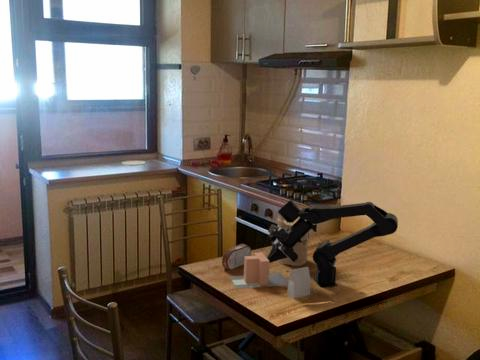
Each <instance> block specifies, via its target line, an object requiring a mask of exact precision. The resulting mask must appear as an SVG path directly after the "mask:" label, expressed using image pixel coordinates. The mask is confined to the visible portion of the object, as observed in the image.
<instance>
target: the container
mask: <svg viewBox="0 0 480 360" xmlns="http://www.w3.org/2000/svg"><path fill="white" fill-rule="evenodd" d="M299 219H300V217H298V218H297V219H296V220H295V221H294V222H293V223H289V222H288V223H287V222H286V221H285V220H284V219H283V218H282V217H281V216H280V215H279V216H278V217H277V219H276V220H277V226H278V227H281V228H284V229H285V228H287V227H288V228H290V227H292V225H293V224H294V223H295V222H296V221H298V220H299ZM309 234H310V231H309V232H308V233H307V234H306V235H305V236H304V237H303V238H302V239H301V241H302V242H301V243H299V242H298V243H297V244H296V245H295V246H294V247H293V249H294V250H293V251H294V252H295V253H296V254H297V255H298V259H297V260H296V261H295V262H293V261H292V260H291V259H290V258H289V257H288V256H287V257H288V258H284V259H280V260H277V261H276V262H277V263H278V264H281V265H287V266H289V265H290V266H291V267H298V266H299V267H303V265H305V264H306V263H307V262H308V247H309Z"/></svg>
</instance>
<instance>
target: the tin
mask: <svg viewBox="0 0 480 360" xmlns="http://www.w3.org/2000/svg"><path fill="white" fill-rule="evenodd" d="M244 256H252V248H251V247H250V246H249V245H247V244H245V243H240V244H238V245H235V246H231V247H230V248H228V249H227V250H226V251H225V252H224V254H223V255H222V259H221V264H222V267H223V268H224V269H227V270H229V271H231V270H233V269H236V268H238V267H240V266H244Z"/></svg>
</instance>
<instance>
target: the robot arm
mask: <svg viewBox="0 0 480 360" xmlns="http://www.w3.org/2000/svg"><path fill="white" fill-rule="evenodd" d="M277 214H278V215H279V216H281V217H282V218H283V219H284V220H285V221H286V222H287V223H288V222H289V223H293V222H294V221H295V220H296V219H297V218H298V217H300V219H299V220H298V221H296V222H295V223H294V224H293V225H292V227H290V228H288V227H287V228H285V229H284V228H281V227H278V225H276V224H273V223H272V224H271V225H270V226H269V228H268V230H267V233H269V234H268V237H269V238H270V239H271V240H272V241H271V249H270V251H269V254H268V255H267V256H266V257H267V259H268V260H269V264H271V263H274V262H277V260H280V259H284V258H288V257H289V258H290V259H291V260H292V261H293V262H295V261H296V260H297V259H298V255H297V254H296V253H295V252H294V251H293V250H294V249H293V247H294V246H295V245H296V244H297V243H298V242H299V243H301V242H302V241H301V239H302V238H303V237H304V236H305V235H306V234H307V233H308V232H309V233H310V231H313V233H317V232H318V231H317V228H318V227H317V226H318V224H322V223H324V222H327V221H330V220H333V219H340V218H341V219H342V218H349V217H359V216H367V217H368V218H369V219H371V221H373V223H372V224H370V225H368V226H367V227H364V228H363V229H360V230H358V231H355V232H354V233H351V234H350V235H348V236H345V237H343V238H341V239H339V240H337V241H334V242H333V241H332V242H330V239H326V240H325V241H324V242H320V243H318V245H317V246H316V248H315V249H314V251H313V253H312V260H313V262H314V263H315V264H316V270H315V271H314V279H313V280H314V282H315V283H316V284H317V285H318V286H319V287H320V288H324V287H325V288H326V287H337V286H338V283H337V282H336V277H337V276H336V275H337V267H336V266H335V265H336V262H337V258H336V257H337V256H338V255H339V254H341V253H343V252H345V251H347V250H350V249H352V248H354V247H356V246H359V245H361V244H363V243H365V242H367V241H369V240H371V239H374V238H377V237H378V238H380V237H385V236H389V235H392V234H394V233H396V232H397V229H398V225H399V219H398V217H397V216H396V215H395V214H393V213H391V212H387V211H386V210H384V209H382V208H381V207H379V206H377V205H375V203H373V202H371V201H366V202H359V203H353V204H352V203H350V204H344V205H343V204H342V205H334V206H333V205H327V204H313V205H311V206H310V207H306V208H305V207H304V208H300V207H298V205H297V204H295V201H293V200H292V199H289V201H288V202H287V203H284V204H283V205H282V206H281V208H280V209H278V210H277ZM287 256H288V257H287Z"/></svg>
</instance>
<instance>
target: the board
mask: <svg viewBox="0 0 480 360" xmlns="http://www.w3.org/2000/svg"><path fill="white" fill-rule="evenodd" d="M229 279H230V281H231V283H232V284H233V286H234V287H235V290H242V289H255V288H267V287H269V288H271V287H279V286H280V287H281V286H288V279H286V277H285V276H284V275H283V273H281V272H279V273H278V272H277V273H269V284H268V285H263V286H260V285H259V283H258V282H256V283H245V281H244V275H236V276H235V275H233V276H229Z"/></svg>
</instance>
